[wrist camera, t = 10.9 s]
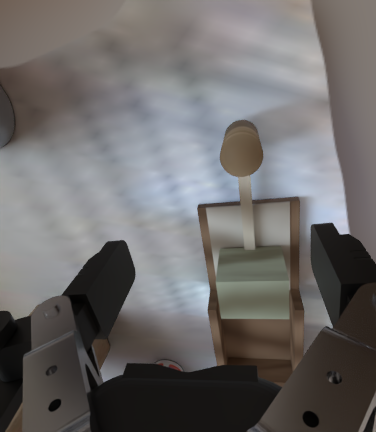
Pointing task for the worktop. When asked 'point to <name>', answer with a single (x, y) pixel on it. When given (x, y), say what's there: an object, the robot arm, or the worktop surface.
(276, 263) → the string block
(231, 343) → the lane
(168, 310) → the worktop surface
